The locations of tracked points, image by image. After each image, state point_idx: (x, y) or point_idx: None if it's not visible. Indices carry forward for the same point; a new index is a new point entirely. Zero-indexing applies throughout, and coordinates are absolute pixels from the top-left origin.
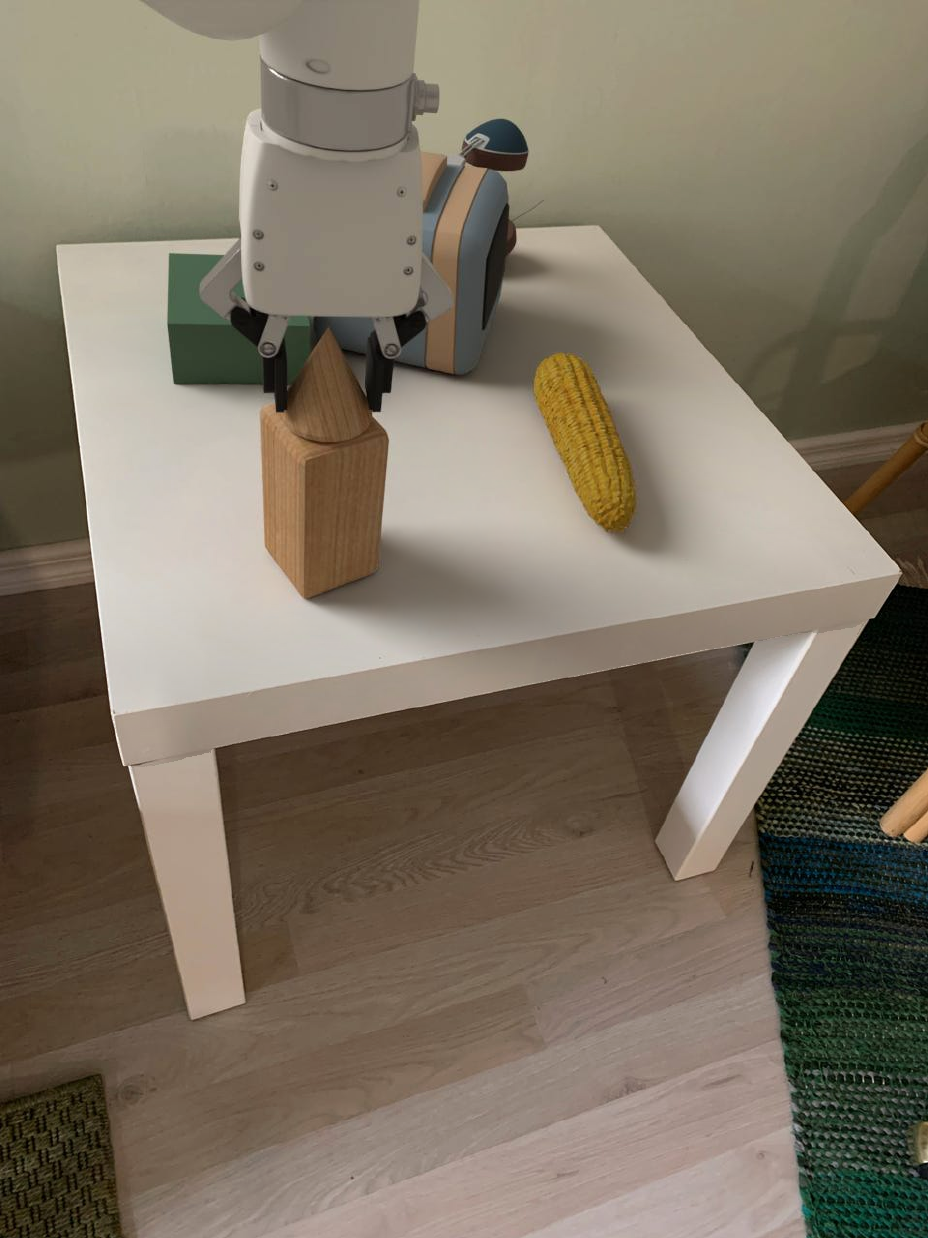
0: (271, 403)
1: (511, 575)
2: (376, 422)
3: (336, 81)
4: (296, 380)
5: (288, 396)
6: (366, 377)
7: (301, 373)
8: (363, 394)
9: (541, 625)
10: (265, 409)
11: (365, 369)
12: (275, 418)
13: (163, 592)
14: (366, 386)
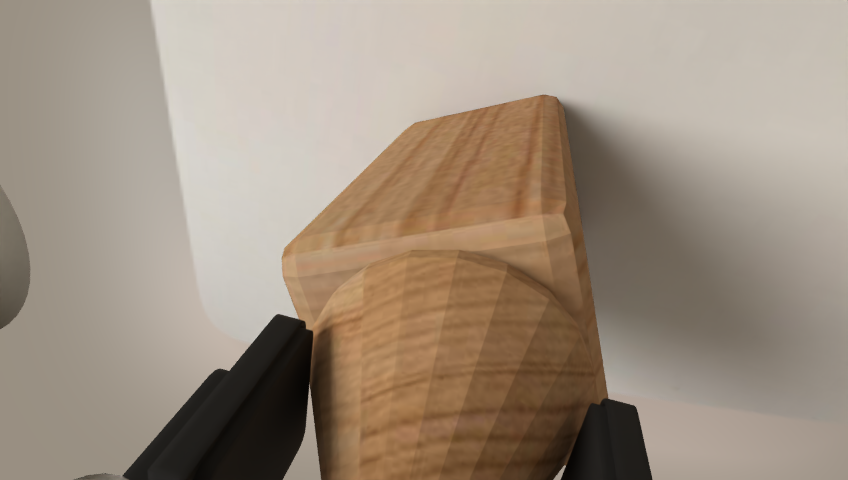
0: (308, 259)
1: (819, 304)
2: None
3: None
4: (319, 434)
5: (312, 397)
6: (586, 468)
7: (321, 473)
8: (554, 473)
9: (790, 405)
10: (288, 280)
11: (597, 453)
12: (309, 327)
13: (248, 178)
14: (579, 456)
